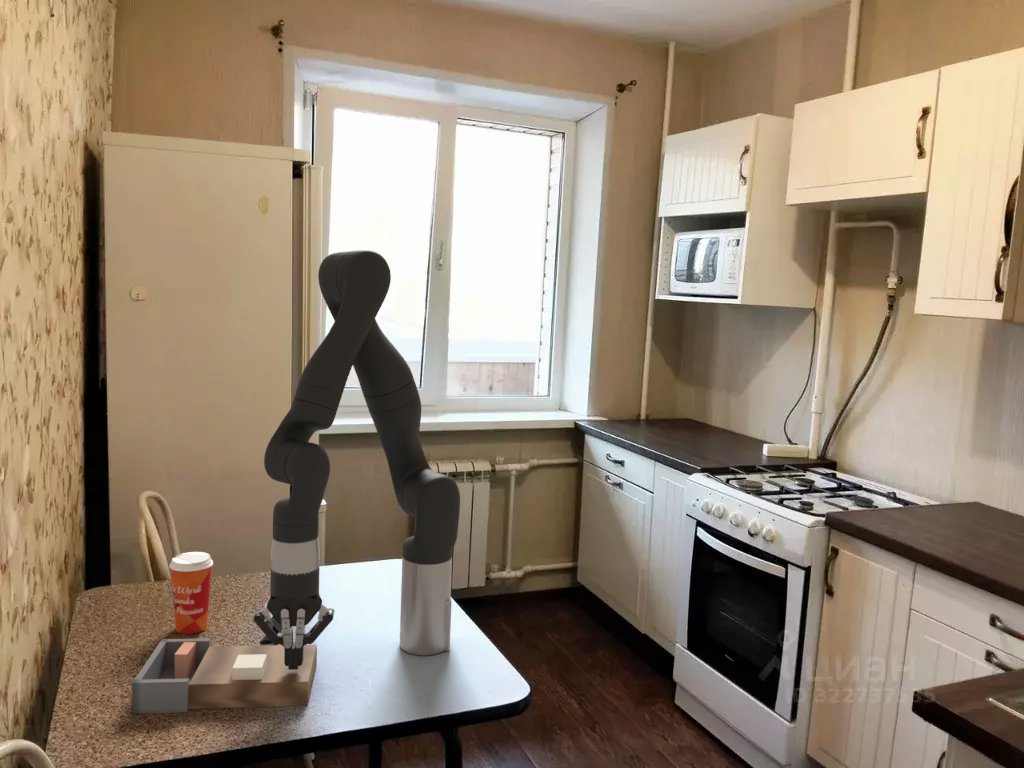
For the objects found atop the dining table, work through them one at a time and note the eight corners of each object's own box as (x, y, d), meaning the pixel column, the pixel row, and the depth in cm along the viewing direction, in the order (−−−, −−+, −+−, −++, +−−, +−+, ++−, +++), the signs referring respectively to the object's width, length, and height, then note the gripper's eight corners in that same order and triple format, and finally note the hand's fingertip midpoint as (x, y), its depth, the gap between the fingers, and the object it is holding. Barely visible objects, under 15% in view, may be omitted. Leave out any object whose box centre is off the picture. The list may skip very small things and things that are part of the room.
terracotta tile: (196, 642, 133) (184, 642, 133) (186, 654, 129) (174, 654, 129) (196, 667, 134) (184, 667, 134) (187, 680, 129) (174, 680, 129)
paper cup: (160, 633, 147) (160, 561, 145) (187, 617, 154) (186, 548, 153) (197, 639, 145) (197, 566, 143) (222, 623, 152) (222, 553, 151)
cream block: (266, 665, 128) (266, 654, 128) (261, 679, 124) (262, 667, 124) (238, 666, 128) (238, 654, 127) (232, 680, 123) (232, 668, 123)
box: (210, 665, 135) (210, 638, 135) (187, 712, 121) (187, 681, 120) (162, 667, 134) (161, 639, 134) (132, 713, 120) (132, 683, 119)
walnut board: (316, 666, 137) (316, 644, 137) (307, 705, 124) (308, 681, 124) (209, 668, 134) (209, 646, 134) (189, 708, 122) (189, 684, 121)
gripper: (339, 555, 129) (337, 655, 131) (256, 556, 127) (255, 657, 129) (335, 572, 122) (333, 677, 124) (247, 572, 120) (246, 679, 122)
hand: (293, 667), depth 126 cm, fingers closed
